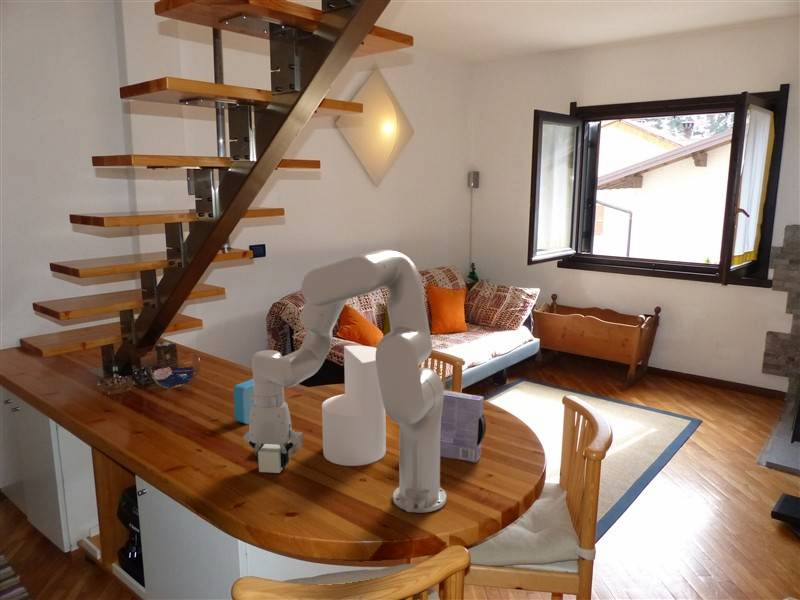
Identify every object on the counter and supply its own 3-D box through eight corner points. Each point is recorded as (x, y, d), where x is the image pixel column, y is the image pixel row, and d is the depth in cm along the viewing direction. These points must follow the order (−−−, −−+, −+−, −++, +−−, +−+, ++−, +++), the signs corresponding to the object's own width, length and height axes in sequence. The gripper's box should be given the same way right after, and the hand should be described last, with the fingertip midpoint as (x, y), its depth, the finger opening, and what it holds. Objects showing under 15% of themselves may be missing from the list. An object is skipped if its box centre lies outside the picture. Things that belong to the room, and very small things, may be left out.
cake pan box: (485, 456, 165) (487, 394, 161) (480, 464, 160) (482, 400, 157) (419, 445, 172) (419, 385, 169) (413, 452, 167) (413, 391, 164)
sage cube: (279, 473, 155) (278, 453, 154) (259, 471, 156) (257, 451, 155) (286, 463, 161) (285, 444, 159) (267, 462, 161) (265, 442, 160)
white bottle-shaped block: (374, 434, 179) (373, 343, 174) (394, 459, 163) (394, 359, 158) (316, 443, 173) (313, 349, 168) (332, 470, 157) (329, 366, 152)
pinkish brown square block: (288, 460, 163) (288, 446, 163) (254, 456, 166) (254, 442, 165) (303, 445, 173) (303, 432, 172) (271, 441, 175) (270, 428, 175)
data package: (263, 410, 198) (261, 375, 196) (273, 413, 196) (271, 378, 194) (234, 422, 189) (232, 385, 186) (244, 425, 186) (242, 388, 184)
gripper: (231, 402, 152) (235, 469, 156) (297, 405, 150) (300, 473, 153) (243, 392, 160) (247, 456, 163) (306, 395, 157) (309, 460, 160)
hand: (273, 464), depth 158 cm, fingers closed on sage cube, 5 cm apart
